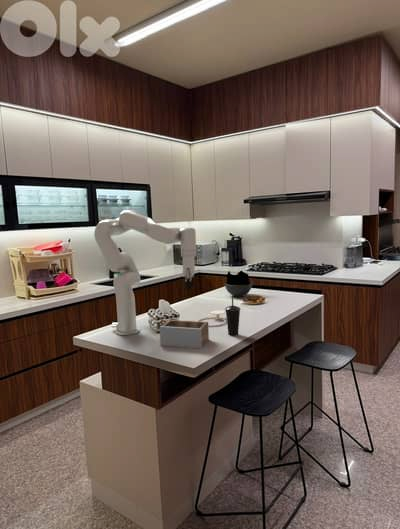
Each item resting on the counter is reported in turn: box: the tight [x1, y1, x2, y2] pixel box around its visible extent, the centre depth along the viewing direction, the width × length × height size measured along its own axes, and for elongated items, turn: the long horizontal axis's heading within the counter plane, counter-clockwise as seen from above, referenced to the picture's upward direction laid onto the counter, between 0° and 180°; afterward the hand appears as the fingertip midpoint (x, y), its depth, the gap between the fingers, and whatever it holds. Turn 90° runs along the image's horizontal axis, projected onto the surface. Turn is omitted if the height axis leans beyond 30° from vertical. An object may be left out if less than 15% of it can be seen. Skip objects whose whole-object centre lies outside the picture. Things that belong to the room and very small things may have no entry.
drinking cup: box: [224, 295, 241, 337], centre depth 184 cm, size 8×8×20 cm
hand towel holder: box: [196, 309, 227, 328], centre depth 209 cm, size 17×4×21 cm
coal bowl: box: [224, 270, 253, 298], centre depth 270 cm, size 20×20×19 cm
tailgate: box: [159, 325, 203, 349], centre depth 170 cm, size 20×1×9 cm, turn 73°
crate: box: [161, 319, 210, 348], centre depth 176 cm, size 20×11×9 cm, turn 73°
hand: (190, 287), depth 183 cm, fingers open, 9 cm apart
